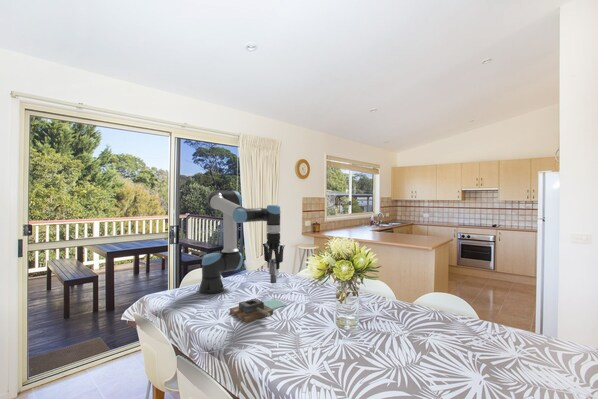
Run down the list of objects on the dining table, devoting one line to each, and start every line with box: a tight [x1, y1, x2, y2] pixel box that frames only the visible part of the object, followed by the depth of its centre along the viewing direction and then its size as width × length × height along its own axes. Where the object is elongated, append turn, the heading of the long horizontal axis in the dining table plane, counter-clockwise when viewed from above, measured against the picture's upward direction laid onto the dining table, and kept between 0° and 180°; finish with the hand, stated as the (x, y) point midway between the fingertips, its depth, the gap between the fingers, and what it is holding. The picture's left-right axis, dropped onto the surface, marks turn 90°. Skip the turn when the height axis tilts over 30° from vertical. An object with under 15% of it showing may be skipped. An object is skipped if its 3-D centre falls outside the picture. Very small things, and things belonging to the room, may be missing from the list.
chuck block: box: [229, 297, 274, 323], centre depth 151 cm, size 24×16×6 cm, turn 40°
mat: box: [263, 298, 287, 311], centre depth 166 cm, size 12×10×1 cm
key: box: [269, 257, 277, 284], centre depth 166 cm, size 6×3×13 cm, turn 150°
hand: (273, 274), depth 166 cm, fingers closed on key, 3 cm apart
